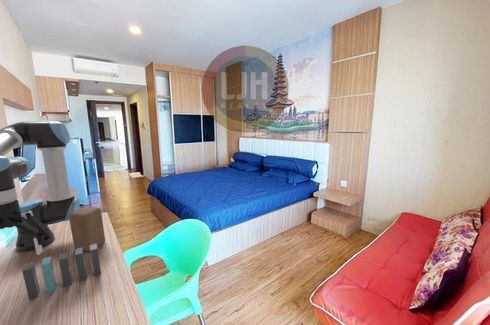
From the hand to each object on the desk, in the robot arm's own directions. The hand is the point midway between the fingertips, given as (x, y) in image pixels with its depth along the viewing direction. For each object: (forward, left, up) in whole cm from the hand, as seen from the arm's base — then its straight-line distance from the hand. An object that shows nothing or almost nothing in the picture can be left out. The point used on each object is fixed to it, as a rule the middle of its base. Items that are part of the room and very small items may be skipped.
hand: (15, 257), depth 78 cm
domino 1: (0, +3, -17) cm, 17 cm away
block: (-26, +22, -17) cm, 38 cm away
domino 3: (0, +13, -17) cm, 21 cm away
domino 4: (0, +18, -17) cm, 24 cm away
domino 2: (0, +8, -17) cm, 18 cm away
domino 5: (0, +23, -17) cm, 28 cm away
